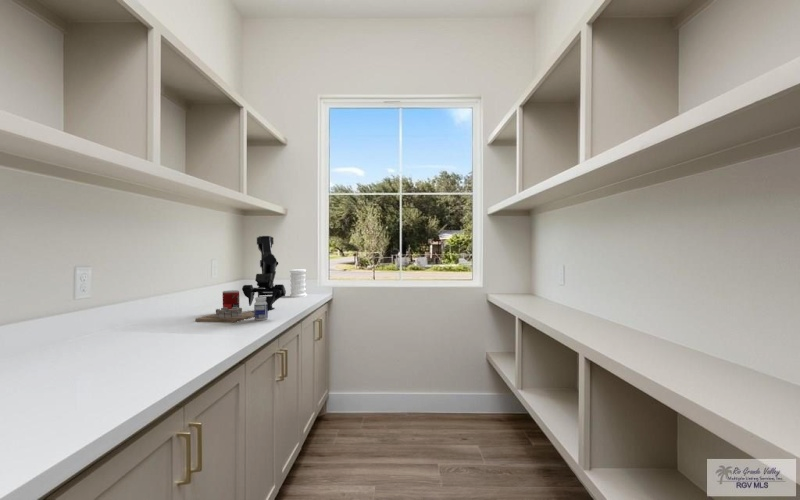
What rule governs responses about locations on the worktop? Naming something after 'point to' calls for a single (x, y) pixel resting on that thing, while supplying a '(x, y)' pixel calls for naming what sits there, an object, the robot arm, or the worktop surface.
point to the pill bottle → (261, 308)
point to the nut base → (230, 319)
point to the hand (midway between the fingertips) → (259, 305)
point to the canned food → (230, 299)
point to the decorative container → (298, 283)
